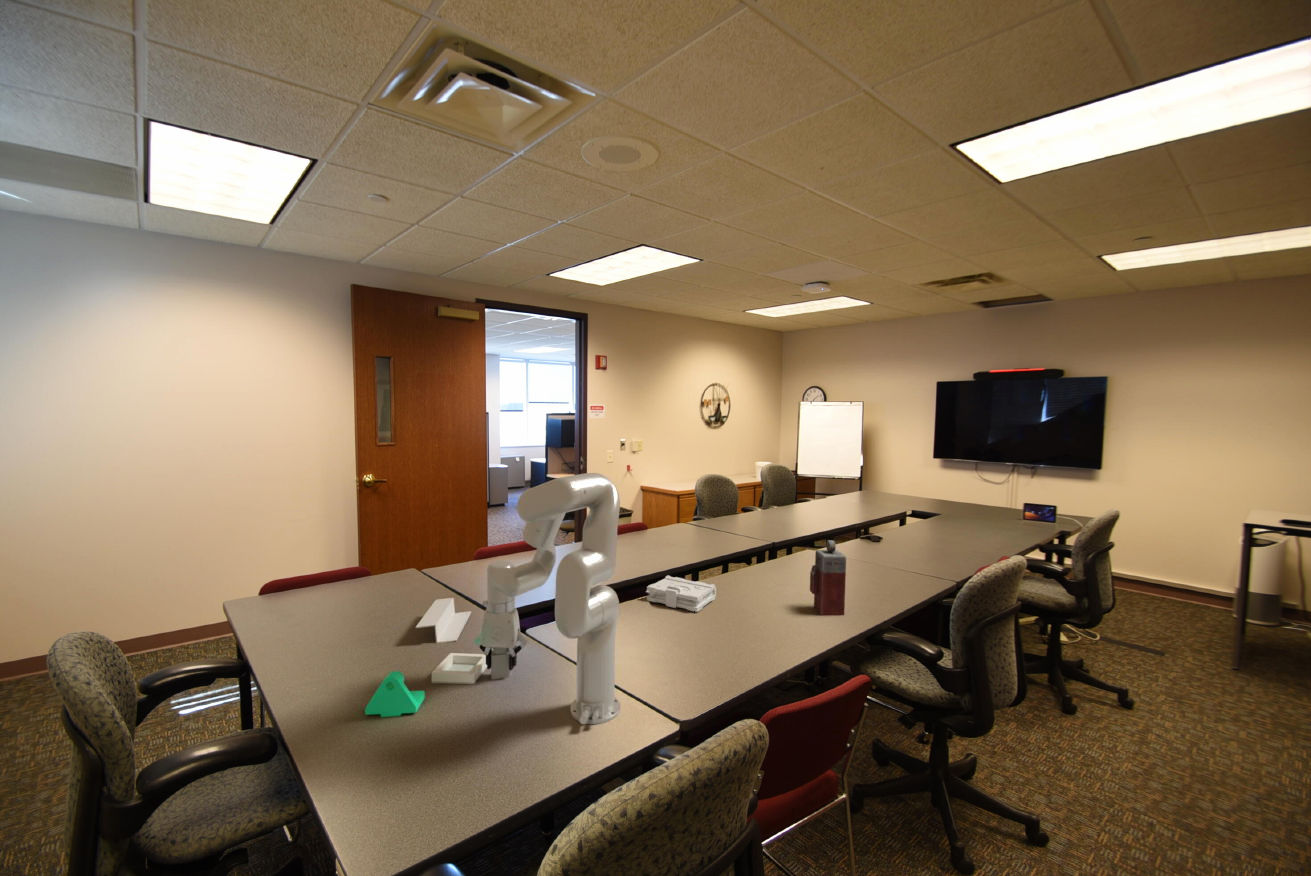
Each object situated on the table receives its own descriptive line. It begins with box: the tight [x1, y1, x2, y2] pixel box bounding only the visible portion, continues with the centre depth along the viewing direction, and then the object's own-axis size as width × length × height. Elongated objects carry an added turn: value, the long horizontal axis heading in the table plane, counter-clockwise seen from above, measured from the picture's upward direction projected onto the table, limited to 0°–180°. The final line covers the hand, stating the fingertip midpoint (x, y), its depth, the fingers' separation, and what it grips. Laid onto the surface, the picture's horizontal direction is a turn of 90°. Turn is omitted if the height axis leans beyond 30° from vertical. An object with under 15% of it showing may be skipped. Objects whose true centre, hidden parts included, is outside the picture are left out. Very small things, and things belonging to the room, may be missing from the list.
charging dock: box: [431, 652, 487, 685], centre depth 154 cm, size 12×12×3 cm
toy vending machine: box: [809, 539, 847, 617], centre depth 205 cm, size 9×11×28 cm
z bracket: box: [415, 597, 472, 644], centre depth 186 cm, size 12×25×6 cm, turn 8°
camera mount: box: [364, 670, 426, 718], centre depth 136 cm, size 12×8×10 cm, turn 96°
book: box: [645, 575, 717, 613], centre depth 218 cm, size 19×28×8 cm
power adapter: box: [490, 648, 512, 680], centre depth 152 cm, size 3×5×12 cm, turn 107°
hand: (501, 666), depth 153 cm, fingers closed on power adapter, 5 cm apart
